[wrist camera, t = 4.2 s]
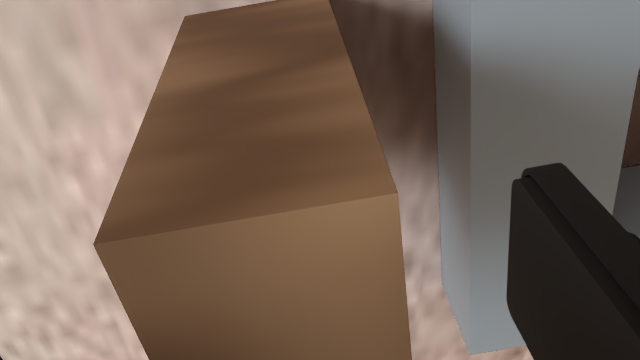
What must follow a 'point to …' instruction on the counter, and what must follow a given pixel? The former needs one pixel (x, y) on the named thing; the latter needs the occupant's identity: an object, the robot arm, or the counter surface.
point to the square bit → (259, 200)
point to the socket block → (525, 131)
